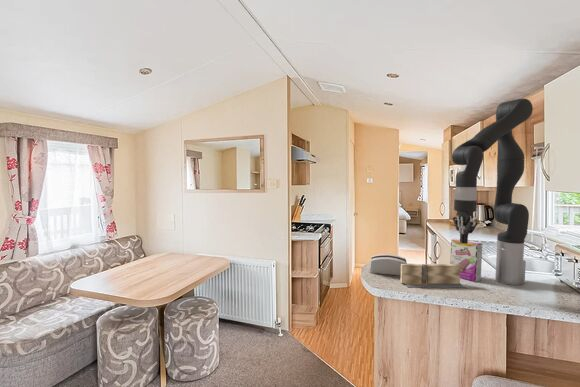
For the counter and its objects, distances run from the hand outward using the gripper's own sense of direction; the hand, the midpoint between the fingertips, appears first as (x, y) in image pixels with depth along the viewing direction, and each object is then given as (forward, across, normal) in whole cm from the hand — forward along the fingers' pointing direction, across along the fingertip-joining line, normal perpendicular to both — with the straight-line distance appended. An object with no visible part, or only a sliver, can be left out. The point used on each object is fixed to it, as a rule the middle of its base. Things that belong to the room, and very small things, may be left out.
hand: (463, 243), depth 119 cm
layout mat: (+19, +13, +8) cm, 24 cm away
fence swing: (+18, +6, +4) cm, 20 cm away
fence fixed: (+19, +7, +16) cm, 26 cm away
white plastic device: (+19, +19, +22) cm, 35 cm away
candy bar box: (+19, +14, -9) cm, 25 cm away
